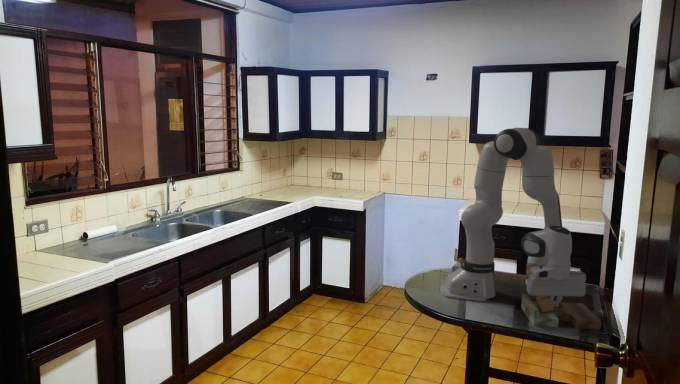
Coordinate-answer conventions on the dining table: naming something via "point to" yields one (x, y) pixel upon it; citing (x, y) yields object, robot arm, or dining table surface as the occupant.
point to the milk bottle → (533, 264)
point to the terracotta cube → (544, 303)
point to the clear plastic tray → (560, 315)
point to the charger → (456, 266)
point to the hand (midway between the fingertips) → (554, 306)
